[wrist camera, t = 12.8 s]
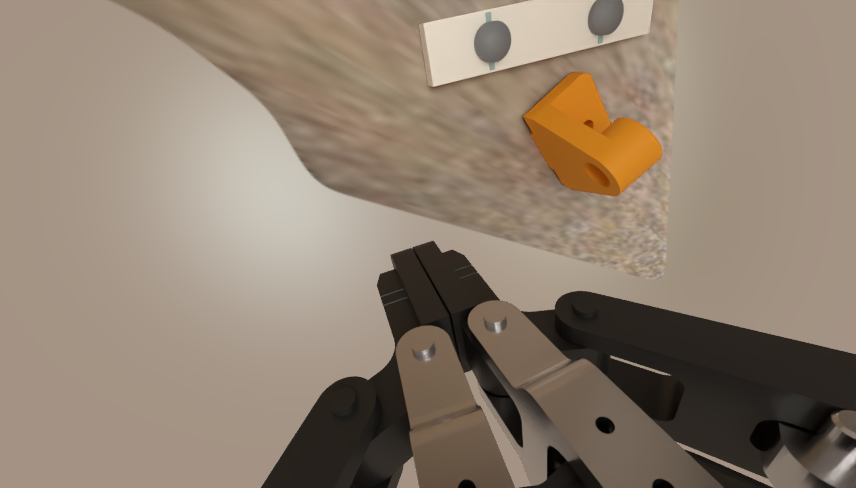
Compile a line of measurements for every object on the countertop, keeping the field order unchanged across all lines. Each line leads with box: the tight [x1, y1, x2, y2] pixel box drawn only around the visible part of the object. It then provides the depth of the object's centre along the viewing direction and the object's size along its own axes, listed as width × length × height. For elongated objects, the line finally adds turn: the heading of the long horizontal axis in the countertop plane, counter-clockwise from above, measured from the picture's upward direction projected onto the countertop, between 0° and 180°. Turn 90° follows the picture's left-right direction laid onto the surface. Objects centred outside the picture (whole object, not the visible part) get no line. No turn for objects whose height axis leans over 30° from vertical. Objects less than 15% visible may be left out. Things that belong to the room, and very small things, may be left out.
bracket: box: [523, 72, 662, 196], centre depth 35 cm, size 11×7×12 cm, turn 40°
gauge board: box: [418, 0, 653, 87], centre depth 33 cm, size 5×24×2 cm, turn 101°
